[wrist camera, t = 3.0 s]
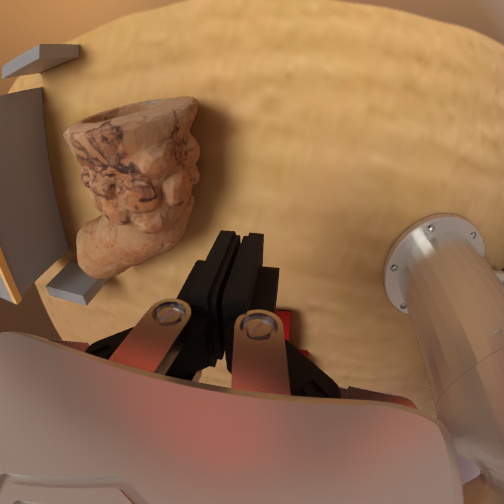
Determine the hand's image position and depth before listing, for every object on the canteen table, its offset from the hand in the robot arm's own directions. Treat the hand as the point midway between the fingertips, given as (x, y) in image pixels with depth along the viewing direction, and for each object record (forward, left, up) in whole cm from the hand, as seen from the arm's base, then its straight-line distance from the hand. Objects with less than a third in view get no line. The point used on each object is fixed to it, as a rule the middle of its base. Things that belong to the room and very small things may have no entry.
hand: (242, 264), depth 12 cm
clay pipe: (+13, +1, -16) cm, 20 cm away
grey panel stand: (+26, 0, -15) cm, 30 cm away
